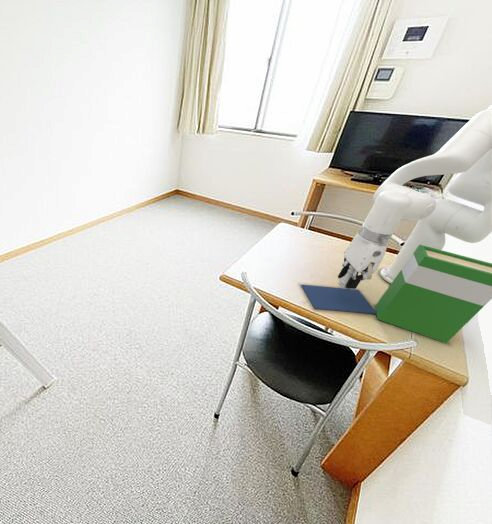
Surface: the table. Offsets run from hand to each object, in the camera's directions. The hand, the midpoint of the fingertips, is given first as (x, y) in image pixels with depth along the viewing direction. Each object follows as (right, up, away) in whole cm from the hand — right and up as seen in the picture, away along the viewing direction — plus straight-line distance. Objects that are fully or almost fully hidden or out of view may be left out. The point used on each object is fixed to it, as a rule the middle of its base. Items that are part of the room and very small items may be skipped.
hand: (346, 282), depth 98 cm
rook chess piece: (0, -1, +1) cm, 1 cm away
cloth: (0, -6, +4) cm, 7 cm away
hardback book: (+17, -13, -4) cm, 21 cm away
